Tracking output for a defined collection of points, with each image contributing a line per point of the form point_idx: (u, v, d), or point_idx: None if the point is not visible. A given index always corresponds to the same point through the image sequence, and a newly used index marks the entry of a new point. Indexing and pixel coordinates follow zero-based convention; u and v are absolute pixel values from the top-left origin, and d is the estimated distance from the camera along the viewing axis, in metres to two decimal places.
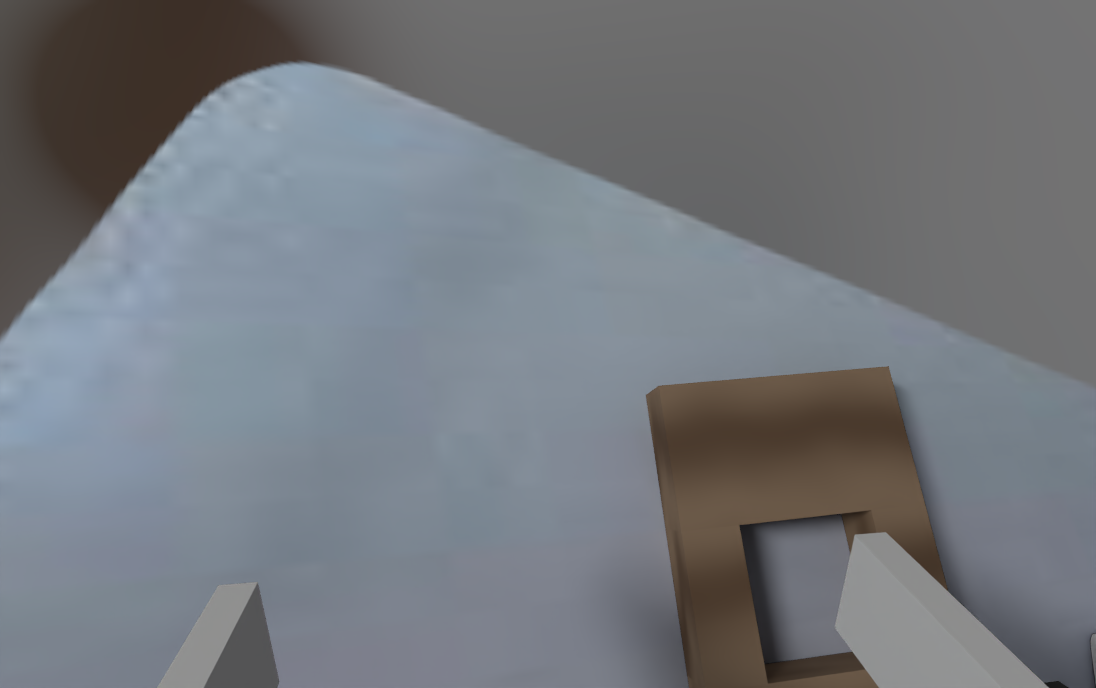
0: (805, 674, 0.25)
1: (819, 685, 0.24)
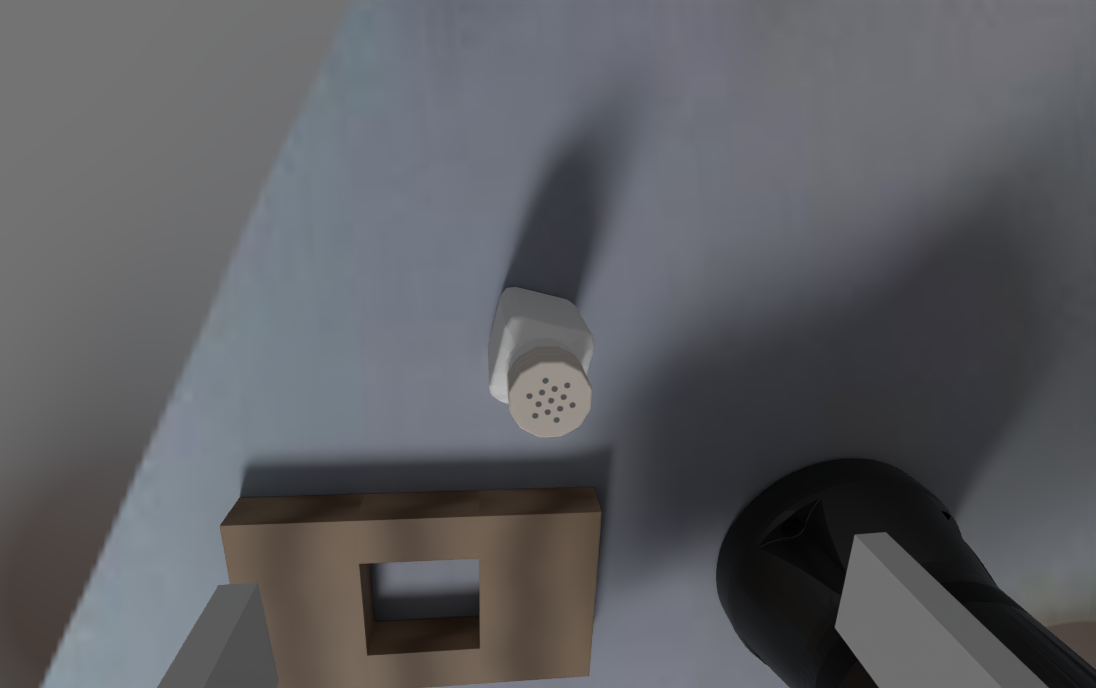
0: None
1: (485, 618, 0.33)
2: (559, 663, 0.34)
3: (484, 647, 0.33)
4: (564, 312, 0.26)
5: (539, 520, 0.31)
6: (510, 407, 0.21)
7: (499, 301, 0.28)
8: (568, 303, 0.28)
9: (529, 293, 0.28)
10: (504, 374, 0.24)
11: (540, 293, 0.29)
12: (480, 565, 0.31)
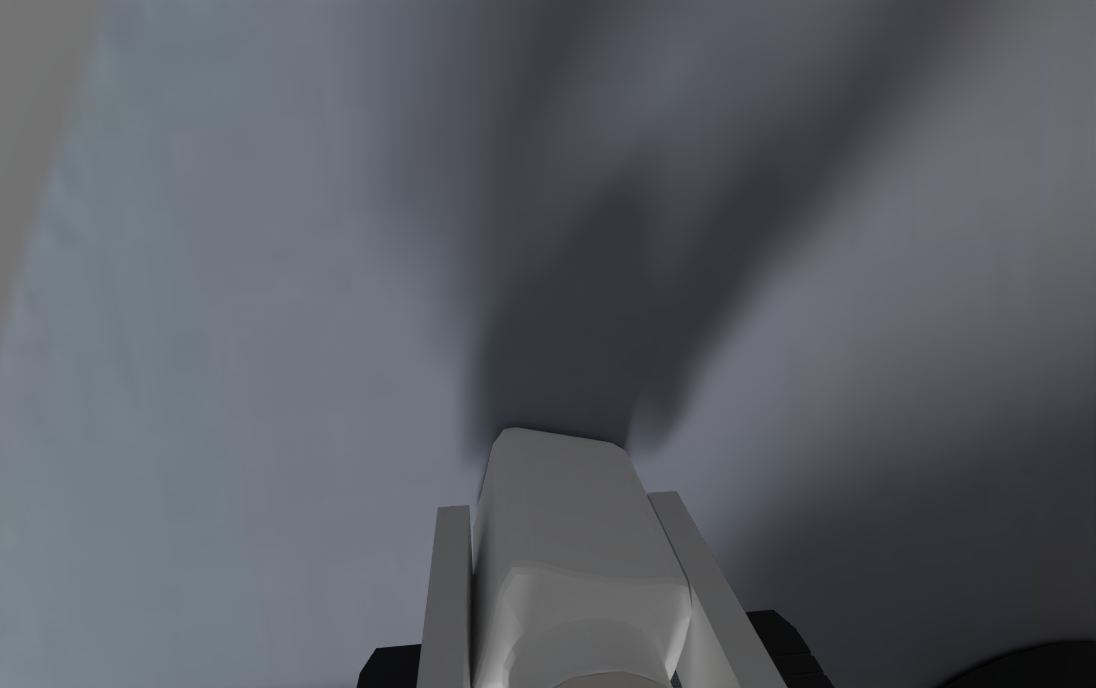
0: None
1: None
2: None
3: None
4: (617, 503, 0.13)
5: None
6: None
7: (490, 456, 0.16)
8: (618, 459, 0.15)
9: (545, 446, 0.15)
10: (500, 687, 0.11)
11: (564, 438, 0.16)
12: None
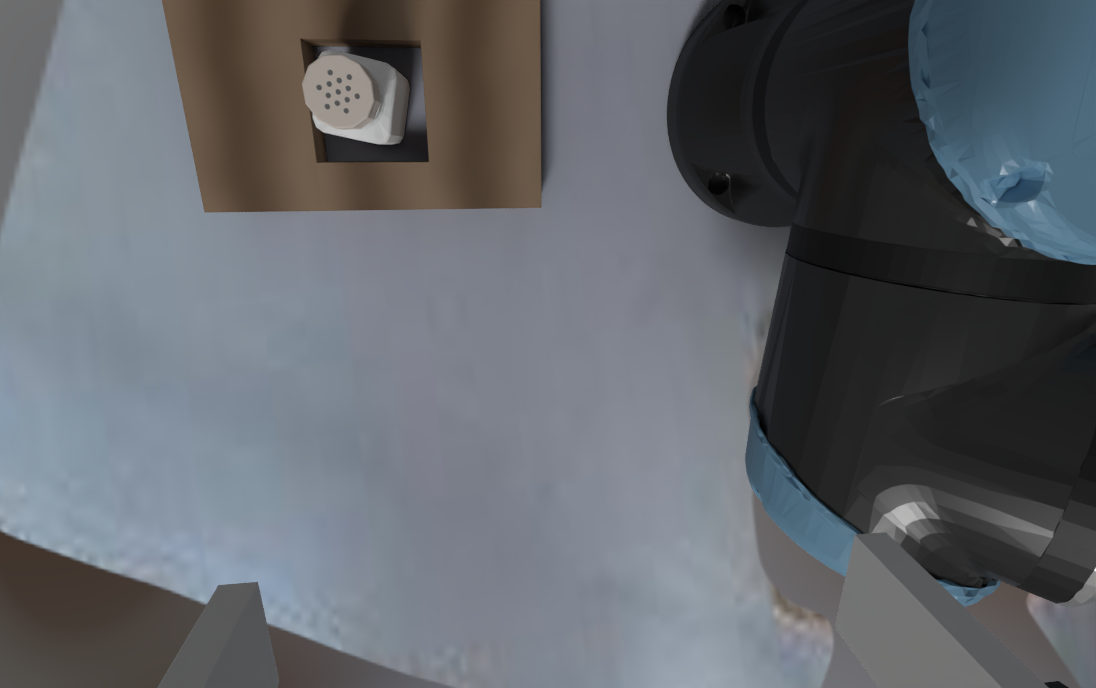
0: (427, 127, 0.33)
1: (432, 121, 0.33)
2: (510, 188, 0.35)
3: (433, 160, 0.34)
4: None
5: None
6: (305, 99, 0.26)
7: None
8: None
9: None
10: None
11: None
12: (422, 50, 0.32)
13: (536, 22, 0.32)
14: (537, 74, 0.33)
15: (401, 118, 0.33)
